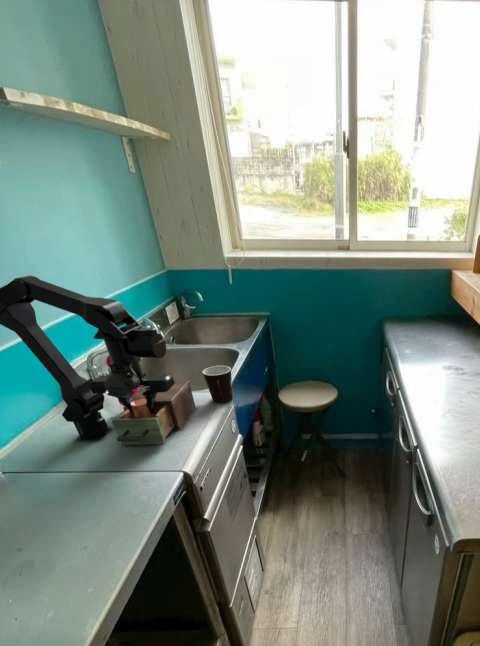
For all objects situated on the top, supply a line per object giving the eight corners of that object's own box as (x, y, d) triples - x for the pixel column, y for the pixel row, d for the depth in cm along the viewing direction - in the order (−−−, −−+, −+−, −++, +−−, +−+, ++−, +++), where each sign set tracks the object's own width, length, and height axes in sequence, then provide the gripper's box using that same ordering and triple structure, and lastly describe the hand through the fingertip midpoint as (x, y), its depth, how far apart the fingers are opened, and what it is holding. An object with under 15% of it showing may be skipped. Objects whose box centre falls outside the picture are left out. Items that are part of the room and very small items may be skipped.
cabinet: (179, 430, 112) (171, 400, 107) (135, 431, 112) (124, 401, 107) (196, 408, 124) (188, 380, 119) (156, 408, 124) (147, 381, 119)
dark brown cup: (216, 393, 134) (210, 365, 128) (240, 394, 133) (235, 366, 127) (200, 408, 124) (192, 378, 119) (226, 409, 123) (219, 379, 118)
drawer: (157, 453, 100) (148, 428, 96) (112, 454, 100) (101, 429, 96) (182, 420, 115) (175, 397, 111) (143, 421, 115) (135, 398, 111)
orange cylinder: (156, 415, 107) (151, 398, 105) (148, 425, 103) (142, 407, 100) (140, 415, 107) (134, 399, 105) (131, 425, 103) (125, 408, 100)
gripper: (65, 368, 89) (92, 429, 98) (148, 367, 90) (167, 427, 98) (91, 353, 98) (114, 409, 107) (166, 351, 99) (182, 408, 107)
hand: (143, 413), depth 105 cm, fingers open, 4 cm apart
